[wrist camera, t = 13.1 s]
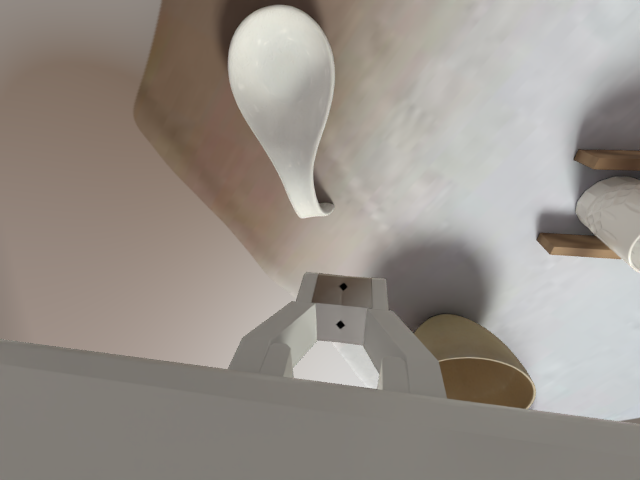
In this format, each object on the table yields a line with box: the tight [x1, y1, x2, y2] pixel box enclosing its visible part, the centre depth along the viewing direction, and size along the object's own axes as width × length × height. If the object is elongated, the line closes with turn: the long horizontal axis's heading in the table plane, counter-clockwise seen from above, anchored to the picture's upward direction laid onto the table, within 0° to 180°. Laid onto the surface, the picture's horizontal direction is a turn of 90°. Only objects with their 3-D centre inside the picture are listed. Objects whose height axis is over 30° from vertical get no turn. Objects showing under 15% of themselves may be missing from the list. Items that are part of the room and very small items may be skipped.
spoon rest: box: [228, 5, 335, 218], centre depth 33 cm, size 24×12×7 cm, turn 13°
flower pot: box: [414, 314, 536, 409], centre depth 46 cm, size 18×18×12 cm
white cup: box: [576, 176, 640, 273], centre depth 31 cm, size 8×8×10 cm
